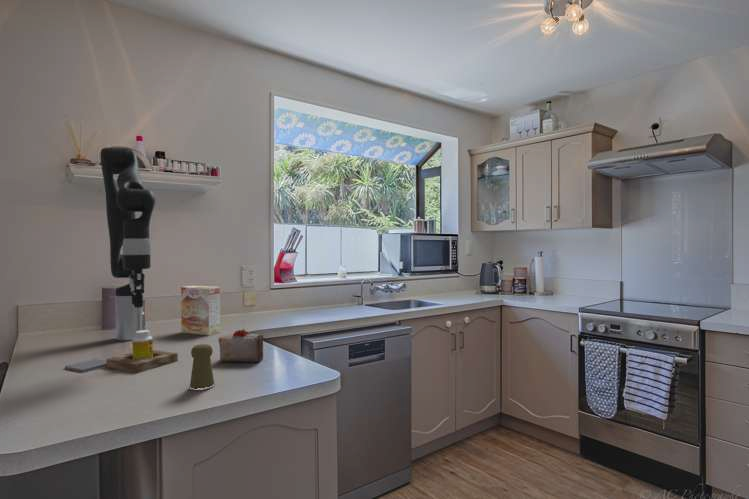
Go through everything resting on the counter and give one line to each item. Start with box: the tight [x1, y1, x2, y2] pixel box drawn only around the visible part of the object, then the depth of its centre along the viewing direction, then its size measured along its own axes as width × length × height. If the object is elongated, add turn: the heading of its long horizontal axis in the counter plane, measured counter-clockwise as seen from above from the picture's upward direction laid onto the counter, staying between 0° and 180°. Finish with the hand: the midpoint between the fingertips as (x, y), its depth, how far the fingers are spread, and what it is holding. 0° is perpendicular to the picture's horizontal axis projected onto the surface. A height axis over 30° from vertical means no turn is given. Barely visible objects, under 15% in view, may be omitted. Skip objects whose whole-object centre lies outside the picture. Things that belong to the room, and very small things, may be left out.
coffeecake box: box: [180, 285, 221, 336], centre depth 181 cm, size 15×7×20 cm, turn 68°
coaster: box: [64, 358, 107, 373], centre depth 131 cm, size 9×9×1 cm
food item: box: [218, 328, 264, 363], centre depth 138 cm, size 14×8×10 cm, turn 88°
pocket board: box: [105, 349, 179, 373], centre depth 134 cm, size 14×14×2 cm
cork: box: [189, 343, 215, 389], centre depth 112 cm, size 6×6×11 cm
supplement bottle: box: [132, 329, 154, 361], centre depth 134 cm, size 6×6×10 cm
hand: (137, 305), depth 133 cm, fingers open, 8 cm apart
